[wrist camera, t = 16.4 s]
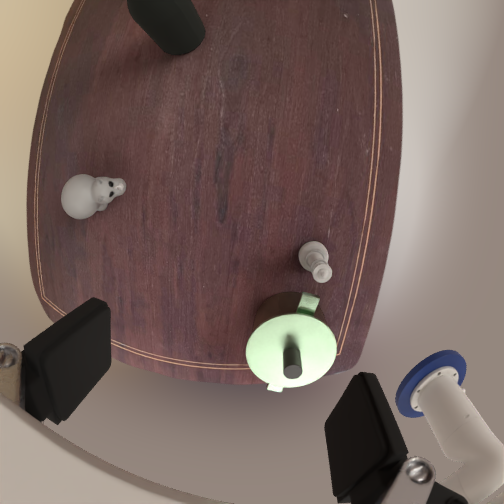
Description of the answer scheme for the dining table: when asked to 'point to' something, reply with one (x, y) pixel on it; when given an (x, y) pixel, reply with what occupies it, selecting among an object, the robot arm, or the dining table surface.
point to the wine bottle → (169, 23)
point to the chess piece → (315, 260)
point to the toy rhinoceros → (89, 194)
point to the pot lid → (291, 350)
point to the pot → (288, 311)
